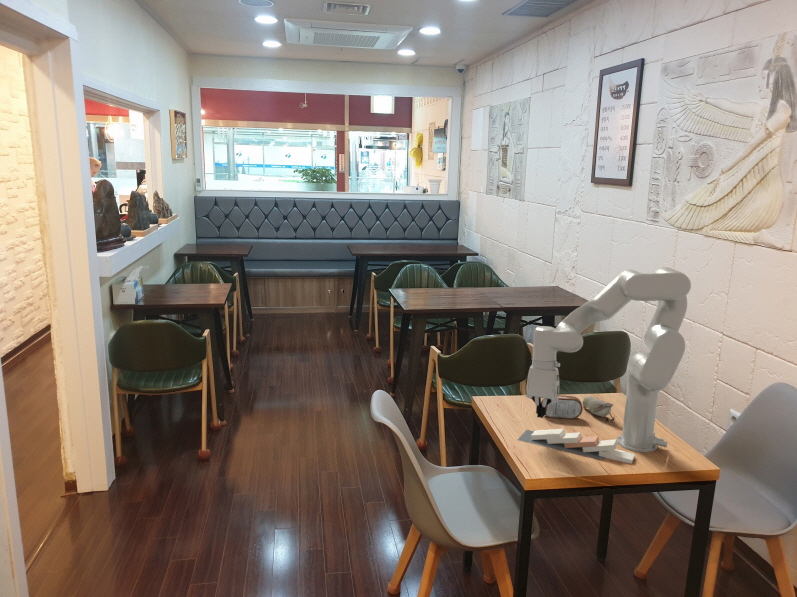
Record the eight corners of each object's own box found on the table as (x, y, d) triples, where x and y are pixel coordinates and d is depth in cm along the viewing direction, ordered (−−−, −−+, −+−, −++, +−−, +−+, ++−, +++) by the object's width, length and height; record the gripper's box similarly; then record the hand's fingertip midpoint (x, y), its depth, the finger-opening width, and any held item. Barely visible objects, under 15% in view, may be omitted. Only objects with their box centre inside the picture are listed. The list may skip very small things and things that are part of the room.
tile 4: (587, 446, 197) (618, 444, 192) (583, 452, 193) (614, 449, 188) (585, 441, 197) (616, 439, 192) (582, 447, 193) (613, 444, 188)
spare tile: (563, 443, 196) (594, 441, 190) (568, 437, 200) (598, 436, 195) (565, 447, 196) (595, 446, 190) (569, 442, 200) (599, 440, 195)
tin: (580, 417, 223) (582, 395, 222) (582, 420, 220) (584, 398, 219) (539, 414, 225) (541, 393, 223) (540, 418, 222) (542, 396, 220)
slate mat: (609, 449, 196) (609, 448, 196) (603, 461, 188) (603, 460, 188) (526, 430, 210) (526, 429, 210) (517, 440, 201) (517, 439, 201)
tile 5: (601, 449, 195) (634, 458, 190) (598, 455, 191) (631, 464, 186) (602, 445, 195) (634, 454, 190) (599, 450, 190) (632, 460, 186)
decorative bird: (589, 407, 234) (590, 389, 232) (617, 423, 219) (619, 403, 218) (577, 409, 232) (579, 390, 231) (605, 425, 217) (607, 405, 216)
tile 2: (552, 438, 203) (581, 437, 198) (547, 443, 199) (577, 442, 193) (551, 433, 203) (580, 432, 197) (546, 439, 198) (576, 437, 193)
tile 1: (536, 434, 205) (565, 433, 200) (531, 439, 201) (560, 438, 196) (535, 430, 205) (564, 428, 200) (530, 435, 201) (559, 433, 196)
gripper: (569, 364, 197) (566, 417, 201) (525, 357, 204) (522, 408, 208) (563, 370, 191) (560, 424, 194) (518, 363, 198) (515, 415, 202)
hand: (540, 416), depth 201 cm, fingers closed
